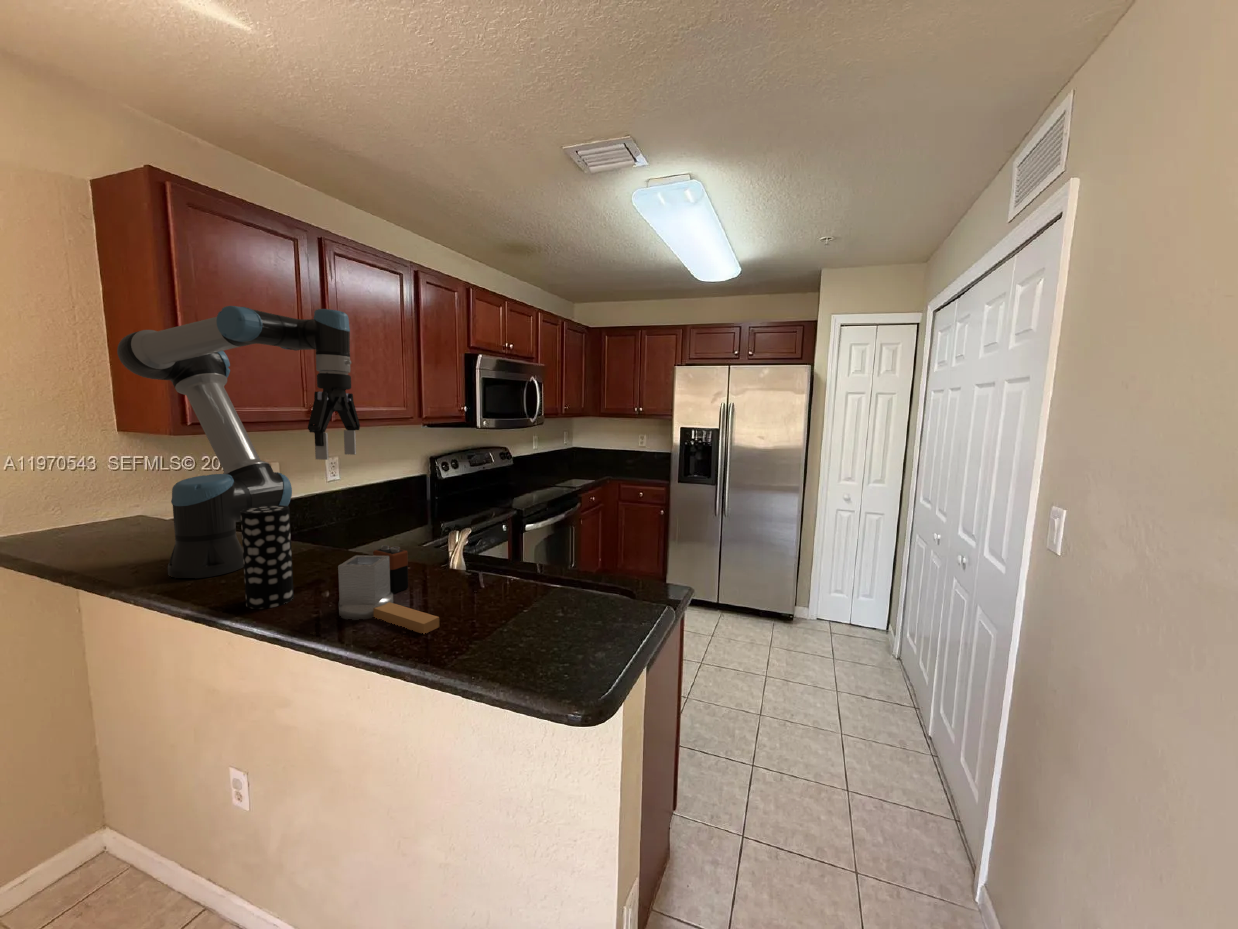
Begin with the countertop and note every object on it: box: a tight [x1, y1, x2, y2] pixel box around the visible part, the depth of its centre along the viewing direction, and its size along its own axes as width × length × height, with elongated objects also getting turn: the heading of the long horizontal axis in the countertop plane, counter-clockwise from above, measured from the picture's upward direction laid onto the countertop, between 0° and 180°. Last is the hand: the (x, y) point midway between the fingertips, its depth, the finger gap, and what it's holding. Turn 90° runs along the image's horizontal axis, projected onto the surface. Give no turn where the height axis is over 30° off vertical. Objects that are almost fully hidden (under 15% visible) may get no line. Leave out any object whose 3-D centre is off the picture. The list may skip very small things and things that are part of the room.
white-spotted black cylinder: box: [240, 505, 295, 610], centre depth 103 cm, size 8×8×20 cm
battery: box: [372, 544, 409, 595], centre depth 113 cm, size 4×7×10 cm, turn 62°
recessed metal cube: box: [337, 554, 390, 605], centre depth 100 cm, size 7×7×8 cm
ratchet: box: [338, 592, 440, 635], centre depth 98 cm, size 24×10×6 cm, turn 62°
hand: (337, 456), depth 126 cm, fingers open, 13 cm apart
